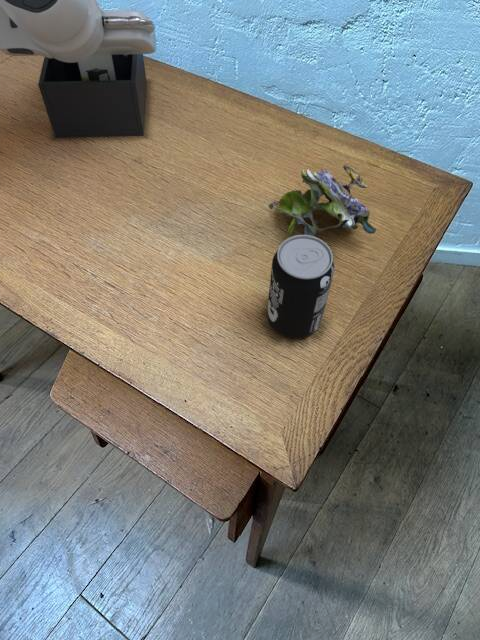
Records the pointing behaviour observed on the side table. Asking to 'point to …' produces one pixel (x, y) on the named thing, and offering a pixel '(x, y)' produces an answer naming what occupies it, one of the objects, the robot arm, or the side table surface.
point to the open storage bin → (95, 99)
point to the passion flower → (337, 206)
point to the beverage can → (299, 286)
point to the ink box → (97, 68)
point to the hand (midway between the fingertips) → (89, 50)
